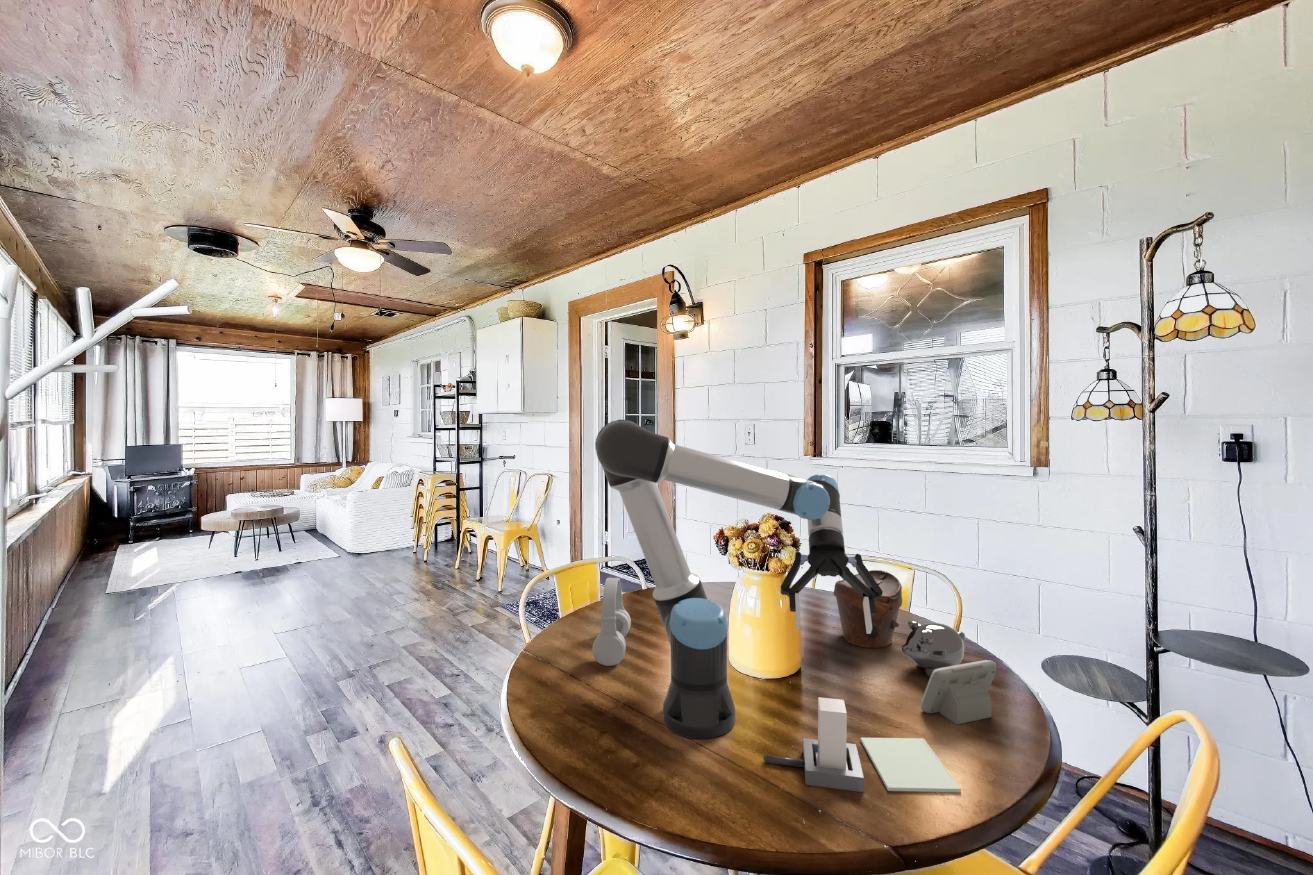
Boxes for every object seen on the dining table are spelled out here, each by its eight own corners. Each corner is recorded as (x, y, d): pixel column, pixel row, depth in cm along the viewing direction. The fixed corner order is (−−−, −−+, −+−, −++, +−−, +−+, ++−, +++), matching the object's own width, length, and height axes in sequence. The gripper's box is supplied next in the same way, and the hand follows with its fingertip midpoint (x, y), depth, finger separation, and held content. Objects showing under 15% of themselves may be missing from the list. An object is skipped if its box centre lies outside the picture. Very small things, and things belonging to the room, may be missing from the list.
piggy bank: (892, 660, 139) (893, 616, 139) (951, 659, 139) (952, 615, 139) (913, 682, 128) (914, 634, 128) (977, 681, 128) (978, 633, 127)
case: (832, 649, 145) (833, 583, 144) (832, 622, 164) (834, 563, 163) (905, 660, 140) (907, 591, 139) (897, 630, 159) (899, 569, 158)
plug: (817, 778, 95) (817, 711, 95) (815, 759, 100) (815, 695, 100) (848, 782, 94) (849, 714, 94) (845, 763, 99) (845, 698, 99)
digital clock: (980, 698, 121) (981, 651, 120) (1010, 721, 112) (1012, 671, 111) (910, 702, 119) (911, 655, 119) (935, 726, 110) (936, 675, 110)
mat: (888, 790, 92) (888, 787, 92) (860, 740, 106) (860, 737, 106) (960, 792, 91) (961, 788, 91) (923, 741, 105) (923, 738, 105)
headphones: (625, 667, 137) (624, 591, 136) (591, 667, 137) (590, 591, 136) (631, 634, 157) (630, 568, 156) (602, 634, 157) (601, 568, 156)
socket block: (762, 778, 95) (762, 764, 95) (764, 746, 104) (764, 733, 104) (863, 792, 92) (863, 777, 92) (855, 757, 101) (855, 744, 101)
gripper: (882, 547, 123) (897, 640, 109) (769, 543, 128) (769, 632, 114) (887, 528, 117) (903, 624, 103) (768, 525, 122) (769, 616, 109)
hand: (833, 628), depth 109 cm, fingers open, 13 cm apart
